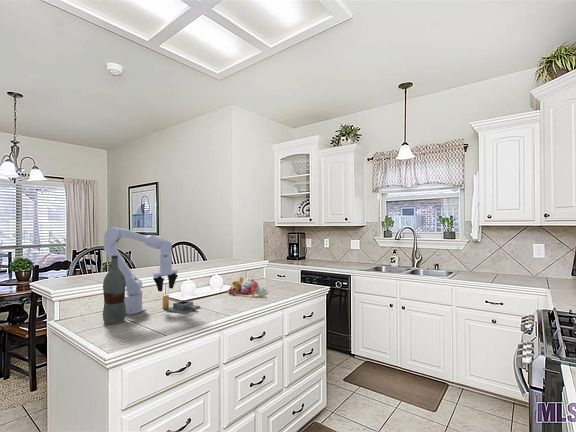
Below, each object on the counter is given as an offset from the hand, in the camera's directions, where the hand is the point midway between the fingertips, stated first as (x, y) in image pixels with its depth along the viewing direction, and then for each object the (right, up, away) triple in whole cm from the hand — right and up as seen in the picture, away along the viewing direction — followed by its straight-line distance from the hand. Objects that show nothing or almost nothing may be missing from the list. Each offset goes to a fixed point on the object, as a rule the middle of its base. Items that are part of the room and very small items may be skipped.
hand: (165, 289), depth 171 cm
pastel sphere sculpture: (+38, -11, +38) cm, 55 cm away
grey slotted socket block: (+9, -10, -1) cm, 14 cm away
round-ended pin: (0, -10, 0) cm, 10 cm away
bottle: (-15, -10, -22) cm, 28 cm away
